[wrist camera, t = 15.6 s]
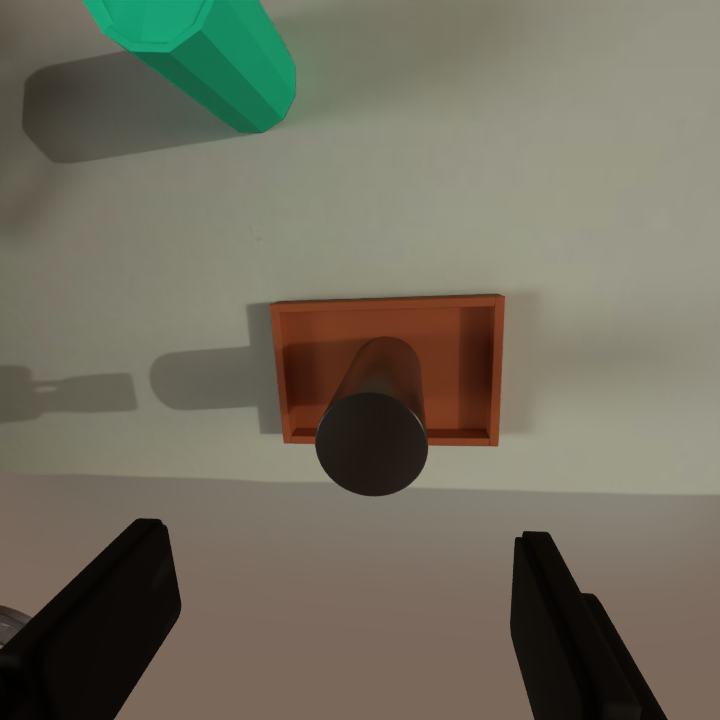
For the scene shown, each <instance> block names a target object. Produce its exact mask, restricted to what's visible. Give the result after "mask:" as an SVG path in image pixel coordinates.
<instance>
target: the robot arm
mask: <svg viewBox="0 0 720 720" xmlns="http://www.w3.org/2000/svg"><path fill="white" fill-rule="evenodd" d="M180 611H181V599H180V594H179V588H178V583H177V577H176V572H175V566H174V561H173V556H172V550H171V545H170V539H169V534H168V529H167V527H166V526H165V525H163V523H162V522H161V520H160V519H143V518H139V519H136V520H135V521H134V522H133V523H132V524H131V525H130V526H128V527H127V529H125V530H124V531H123V532H122V533H121V534H120V535H119V536H118V537H117V538H116V539H115V540H114V541H113V542H112V543H111V544H110V545H109V546H108V547H106V548H105V549H104V550H103V551H102V552H101V553H100V554H99V555H98V556H97V557H96V558H95V559H94V560H93V561H92V562H91V563H90V564H89V565H88V566H87V567H86V568H85V569H84V570H82V571H81V572H80V573H79V574H78V575H77V576H76V577H75V578H74V579H73V580H72V581H71V582H70V583H69V584H68V585H67V586H66V587H65V588H64V589H63V590H61V592H59V593H58V594H57V595H56V596H55V597H54V598H53V599H52V600H51V601H50V602H49V603H48V604H47V605H46V606H45V607H44V608H43V609H42V610H41V611H40V612H39V613H38V614H36V615H35V616H34V617H33V618H32V619H31V620H30V621H29V622H28V623H27V624H26V625H25V626H24V627H23V628H22V629H21V630H20V631H19V632H18V633H17V634H15V635H14V636H13V637H12V638H11V639H10V640H9V641H8V642H7V643H6V644H5V645H1V644H0V720H114V718H115V717H116V715H117V714H118V712H119V711H120V709H121V707H122V706H123V704H124V703H125V701H126V700H127V698H128V696H129V695H130V693H131V692H132V690H133V689H134V687H135V685H136V684H137V682H138V681H139V679H140V678H141V676H142V674H143V673H144V671H145V670H146V668H147V667H148V665H149V663H150V662H151V660H152V659H153V657H154V656H155V654H156V652H157V651H158V649H159V647H160V646H161V645H162V643H163V641H164V640H165V638H166V637H167V635H168V634H169V632H170V630H171V629H172V627H173V626H174V624H175V623H176V621H177V619H178V617H179V615H180ZM510 629H511V637H512V641H513V645H514V648H515V652H516V656H517V659H518V663H519V666H520V670H521V673H522V677H523V680H524V684H525V688H526V691H527V695H528V698H529V702H530V705H531V709H532V712H533V716H534V719H535V720H668V719H667V718H666V716H665V714H664V712H663V711H662V709H661V707H660V705H659V704H658V702H657V700H656V698H655V697H654V695H653V693H652V691H651V690H650V688H649V686H648V684H647V683H646V681H645V679H644V677H643V676H642V674H641V672H640V671H639V669H638V667H637V665H636V664H635V662H634V660H633V658H632V657H631V655H630V653H629V651H628V650H627V648H626V646H625V644H624V643H623V641H622V639H621V637H620V636H619V634H618V633H617V630H616V629H615V627H614V625H613V623H612V622H611V620H610V618H609V617H608V615H607V613H606V611H605V610H604V608H603V606H602V604H601V603H600V601H599V600H598V599H597V597H596V596H595V595H593V594H589V593H581V592H580V590H579V588H578V586H577V584H576V582H575V581H574V579H573V577H572V575H571V573H570V571H569V569H568V568H567V566H566V564H565V562H564V560H563V558H562V556H561V554H560V552H559V551H558V549H557V547H556V545H555V543H554V541H553V539H552V537H551V535H550V534H549V533H548V532H535V531H534V532H532V531H524V532H523V534H522V537H516V538H515V547H514V564H513V583H512V600H511V619H510Z"/></svg>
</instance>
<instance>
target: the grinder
mask: <svg viewBox="0 0 720 720" xmlns="http://www.w3.org/2000/svg"><path fill="white" fill-rule="evenodd" d="M315 447H316V453H317V456H318V459H319V461H320V464H321V466H322V467H323V469H324V471H325V472H326V473H327V474H328V476H329V477H330V478H331V479H332V480H333V481H334V482H336V483H337V484H338V485H339V486H341V487H343V488H344V489H346V490H349V491H351V492H353V493H357V494H360V495H365V496H384V495H389V494H393V493H395V492H398V491H400V490H402V489H404V488H405V487H407V486H408V485H409V484H411V483H412V482H413V481H414V480H415V479H416V478H417V477H418V475H419V474H420V473H421V471H422V469H423V467H424V465H425V462H426V459H427V455H428V438H427V428H426V418H425V407H424V397H423V387H422V376H421V366H420V361H419V358H418V356H417V354H416V352H415V351H414V349H413V348H412V347H411V346H410V345H409V344H407V343H406V342H404V341H403V340H400V339H398V338H395V337H378V338H375V339H372V340H370V341H368V342H367V343H366V344H364V345H363V346H362V347H361V348H360V350H359V351H358V353H357V354H356V356H355V358H354V360H353V362H352V363H351V365H350V367H349V369H348V371H347V372H346V374H345V376H344V378H343V380H342V381H341V383H340V385H339V387H338V389H337V390H336V392H335V394H334V396H333V398H332V399H331V401H330V403H329V405H328V407H327V409H326V410H325V412H324V414H323V416H322V418H321V419H320V422H319V424H318V427H317V430H316V436H315Z"/></svg>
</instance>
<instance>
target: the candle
mask: <svg viewBox="0 0 720 720" xmlns="http://www.w3.org/2000/svg"><path fill="white" fill-rule="evenodd" d="M83 2H84V3H85V5H86V6H87V8H88V10H89V11H90V13H91V15H92V16H93V18H94V19H95V21H96V23H97V24H98V26H99V27H100V29H101V31H102V32H103V33H104V34H105V35H106V36H108V37H109V38H111V39H112V40H113V41H115V42H116V43H117V44H119V45H120V46H122V47H123V48H124V49H126V50H127V51H128V52H130V53H131V54H132V55H134V56H135V57H137V58H138V59H139V60H141V61H142V62H143V63H145V64H146V65H148V66H149V67H150V68H152V69H153V70H154V71H156V72H157V73H158V74H160V75H161V76H163V77H164V78H165V79H167V80H168V81H169V82H171V83H172V84H174V85H175V86H176V87H178V88H179V89H180V90H182V91H183V92H184V93H186V94H187V95H189V96H190V97H191V98H193V99H194V100H195V101H197V102H198V103H200V104H201V105H202V106H204V107H205V108H206V109H208V110H209V111H211V112H212V113H213V114H215V115H216V116H217V117H219V118H220V119H222V120H223V121H225V122H226V123H227V124H229V125H230V126H232V127H233V128H235V129H236V130H238V131H239V132H262V133H263V132H265V131H266V130H268V129H269V128H271V127H272V126H274V125H275V124H277V123H278V122H280V121H281V120H283V119H284V117H285V115H286V113H287V111H288V109H289V107H290V105H291V103H292V101H293V99H294V97H295V65H294V63H293V61H292V59H291V57H290V55H289V53H288V51H287V48H286V46H285V44H284V42H283V40H282V39H281V37H280V35H279V34H278V32H277V30H276V29H275V27H274V25H273V23H272V22H271V20H270V18H269V17H268V15H267V13H266V12H265V10H264V8H263V6H262V5H261V3H260V1H259V0H83Z"/></svg>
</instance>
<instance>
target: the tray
mask: <svg viewBox="0 0 720 720" xmlns="http://www.w3.org/2000/svg"><path fill="white" fill-rule="evenodd" d="M504 306H505V297H504V296H502V295H500V294H477V295H448V296H419V297H389V298H360V299H331V300H302V301H278V302H276V303H273V304H270V311H271V321H272V331H273V341H274V351H275V361H276V371H277V380H278V390H279V400H280V410H281V420H282V430H283V440H284V443H293V444H315V436H316V430H317V427H318V424H319V422H320V419H321V418H322V416H323V414H324V412H325V410H326V409H327V407H328V405H329V403H330V401H331V399H332V398H333V396H334V394H335V392H336V390H337V389H338V387H339V385H340V383H341V381H342V380H343V378H344V376H345V374H346V372H347V371H348V369H349V367H350V365H351V363H352V362H353V360H354V358H355V356H356V354H357V353H358V351H359V350H360V348H361V347H362V346H363V345H364V344H366V343H367V342H368V341H370V340H372V339H375V338H378V337H395V338H398V339H400V340H403V341H404V342H406V343H407V344H409V345H410V346H411V347H412V348H413V349H414V351H415V352H416V354H417V356H418V358H419V361H420V366H421V376H422V387H423V397H424V407H425V418H426V428H427V438H428V445H438V446H498V441H499V419H500V396H501V374H502V351H503V328H504Z"/></svg>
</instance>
